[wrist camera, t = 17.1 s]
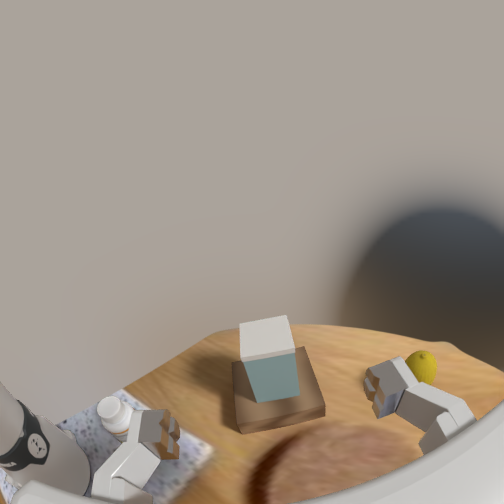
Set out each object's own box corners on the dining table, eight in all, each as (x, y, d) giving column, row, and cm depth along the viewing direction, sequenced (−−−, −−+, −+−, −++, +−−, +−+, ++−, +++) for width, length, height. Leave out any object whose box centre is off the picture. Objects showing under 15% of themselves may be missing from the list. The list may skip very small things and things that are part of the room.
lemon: (388, 392, 33) (398, 359, 30) (407, 369, 35) (417, 335, 32) (416, 408, 29) (431, 376, 25) (434, 383, 31) (448, 349, 28)
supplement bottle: (142, 421, 36) (111, 385, 32) (165, 438, 33) (132, 402, 29) (122, 442, 32) (86, 408, 27) (143, 461, 29) (105, 429, 24)
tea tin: (256, 403, 34) (240, 357, 29) (253, 371, 39) (239, 323, 35) (300, 395, 34) (294, 347, 29) (293, 364, 39) (286, 314, 35)
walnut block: (243, 435, 33) (236, 424, 31) (237, 377, 44) (231, 362, 42) (325, 417, 33) (325, 404, 31) (305, 361, 44) (304, 346, 42)
